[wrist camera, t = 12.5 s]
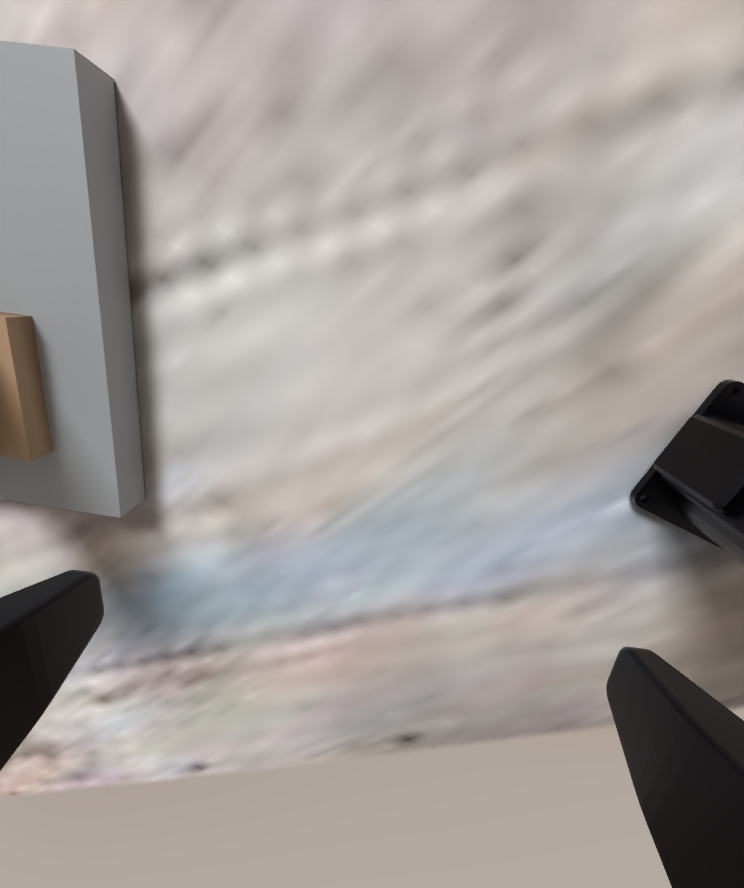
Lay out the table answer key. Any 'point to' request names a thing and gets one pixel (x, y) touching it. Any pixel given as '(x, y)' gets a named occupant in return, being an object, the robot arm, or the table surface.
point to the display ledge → (69, 278)
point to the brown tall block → (21, 392)
